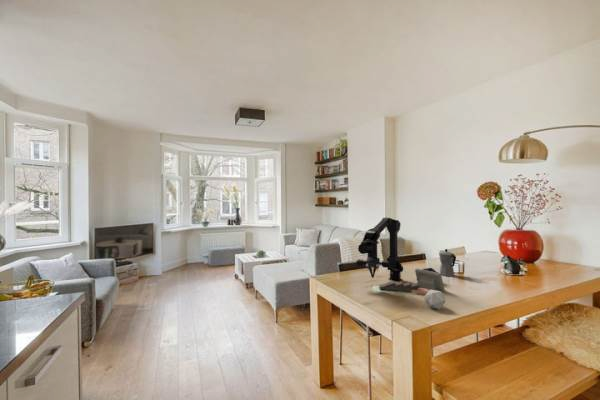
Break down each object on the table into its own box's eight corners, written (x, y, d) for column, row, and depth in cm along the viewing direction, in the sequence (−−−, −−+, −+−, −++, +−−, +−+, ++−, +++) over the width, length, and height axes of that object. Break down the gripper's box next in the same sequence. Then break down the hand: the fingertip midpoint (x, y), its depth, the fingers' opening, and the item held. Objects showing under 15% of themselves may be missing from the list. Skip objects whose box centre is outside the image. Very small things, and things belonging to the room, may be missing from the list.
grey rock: (423, 304, 139) (419, 292, 135) (437, 295, 140) (433, 282, 136) (435, 316, 132) (431, 303, 127) (450, 306, 132) (447, 293, 128)
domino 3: (395, 288, 161) (410, 284, 159) (395, 291, 156) (411, 287, 154) (394, 286, 161) (409, 281, 159) (394, 288, 157) (410, 284, 154)
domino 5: (411, 290, 158) (428, 291, 156) (411, 292, 154) (429, 294, 151) (411, 287, 158) (427, 288, 156) (411, 290, 154) (429, 291, 151)
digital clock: (446, 291, 157) (445, 272, 157) (435, 293, 153) (434, 274, 153) (423, 283, 171) (422, 266, 171) (412, 285, 168) (412, 268, 168)
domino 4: (403, 289, 160) (418, 285, 157) (403, 292, 155) (419, 287, 152) (402, 286, 160) (417, 282, 157) (402, 289, 155) (418, 285, 153)
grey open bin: (416, 278, 185) (414, 264, 184) (438, 278, 180) (436, 263, 180) (417, 286, 172) (416, 270, 171) (441, 286, 167) (439, 270, 167)
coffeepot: (434, 272, 195) (434, 247, 196) (446, 271, 197) (445, 247, 197) (449, 278, 180) (449, 251, 180) (462, 277, 182) (461, 251, 182)
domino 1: (380, 287, 164) (395, 283, 161) (380, 290, 159) (395, 285, 157) (379, 285, 164) (393, 280, 161) (379, 287, 159) (394, 283, 157)
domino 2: (388, 288, 163) (402, 283, 160) (388, 290, 158) (403, 286, 155) (387, 285, 163) (401, 281, 160) (386, 288, 158) (402, 283, 155)
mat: (415, 289, 160) (414, 289, 160) (416, 295, 151) (416, 294, 151) (372, 286, 168) (372, 285, 168) (371, 291, 158) (371, 290, 158)
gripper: (355, 253, 158) (355, 280, 158) (388, 254, 152) (389, 282, 152) (357, 250, 169) (357, 275, 168) (388, 251, 163) (389, 277, 163)
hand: (372, 277), depth 163 cm, fingers closed
